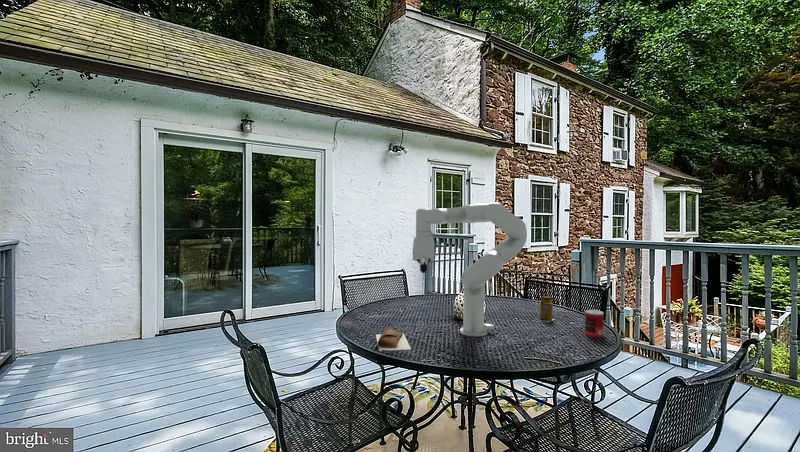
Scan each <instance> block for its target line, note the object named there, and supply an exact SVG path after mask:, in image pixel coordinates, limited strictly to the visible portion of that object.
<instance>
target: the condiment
mask: <svg viewBox="0 0 800 452" xmlns="http://www.w3.org/2000/svg"><path fill="white" fill-rule="evenodd" d="M540 299H541V300H540V303H539V304H540V307H539V308H540V310H539V317H537V318H535V320H537V321H540V322H544V323H550V322H552V321H554V320H556V318H553V308H554V307H553V305H554V303H553V297H552V296H549V295H548V296H547V295H542V296H541V298H540Z"/></svg>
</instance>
